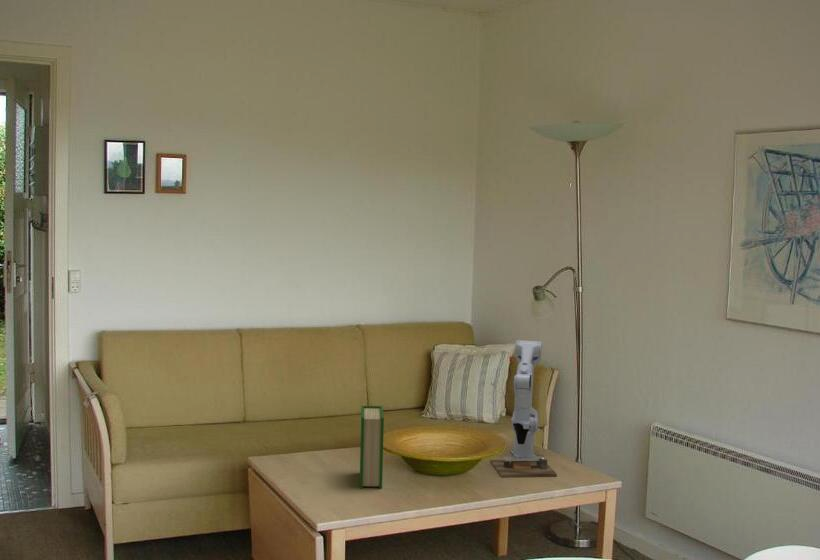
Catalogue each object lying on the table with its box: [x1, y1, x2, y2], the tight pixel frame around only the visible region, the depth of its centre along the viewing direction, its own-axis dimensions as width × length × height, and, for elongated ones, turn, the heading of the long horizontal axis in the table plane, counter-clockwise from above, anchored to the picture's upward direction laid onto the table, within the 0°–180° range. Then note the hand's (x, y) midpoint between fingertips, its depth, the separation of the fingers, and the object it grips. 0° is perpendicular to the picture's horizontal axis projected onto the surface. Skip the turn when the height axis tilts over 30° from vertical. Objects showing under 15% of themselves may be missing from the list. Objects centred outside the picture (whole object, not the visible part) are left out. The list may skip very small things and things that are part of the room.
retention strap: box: [502, 454, 545, 461], centre depth 324 cm, size 4×15×1 cm, turn 97°
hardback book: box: [359, 405, 385, 490], centre depth 306 cm, size 18×7×24 cm, turn 3°
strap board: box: [489, 454, 557, 478], centre depth 324 cm, size 18×20×4 cm
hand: (521, 443), depth 324 cm, fingers closed
